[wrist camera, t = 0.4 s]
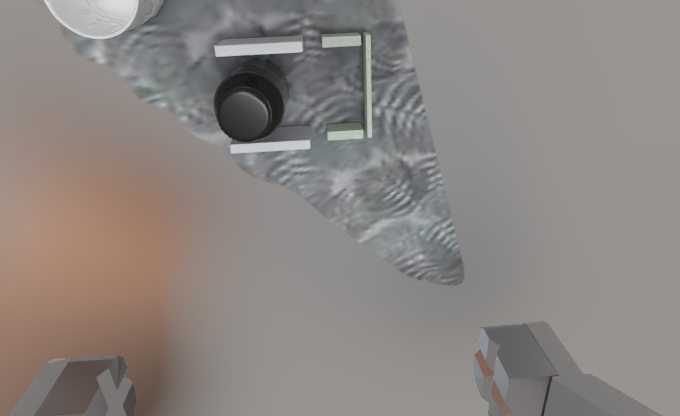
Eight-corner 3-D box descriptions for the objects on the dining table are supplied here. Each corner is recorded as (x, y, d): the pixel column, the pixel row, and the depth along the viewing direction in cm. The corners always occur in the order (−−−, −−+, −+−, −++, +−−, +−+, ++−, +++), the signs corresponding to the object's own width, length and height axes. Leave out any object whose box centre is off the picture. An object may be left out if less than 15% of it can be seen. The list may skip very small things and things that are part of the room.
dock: (321, 34, 49) (322, 37, 47) (367, 31, 50) (370, 34, 47) (327, 132, 54) (327, 140, 52) (368, 129, 55) (371, 137, 52)
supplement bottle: (285, 56, 50) (278, 76, 40) (291, 116, 53) (286, 151, 43) (222, 60, 50) (198, 82, 39) (232, 121, 53) (213, 156, 42)
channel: (223, 39, 49) (214, 46, 44) (302, 35, 49) (301, 41, 44) (238, 137, 54) (231, 153, 49) (310, 133, 54) (310, 148, 49)
